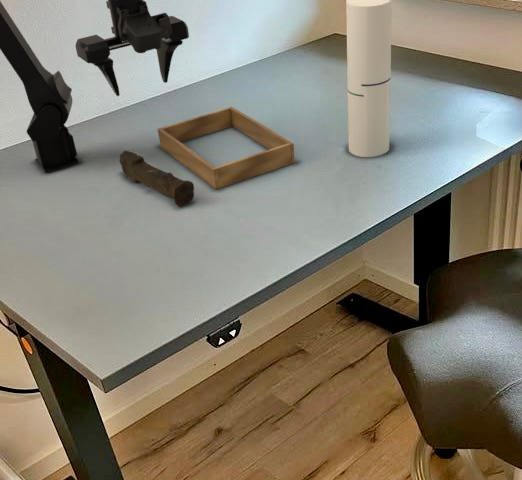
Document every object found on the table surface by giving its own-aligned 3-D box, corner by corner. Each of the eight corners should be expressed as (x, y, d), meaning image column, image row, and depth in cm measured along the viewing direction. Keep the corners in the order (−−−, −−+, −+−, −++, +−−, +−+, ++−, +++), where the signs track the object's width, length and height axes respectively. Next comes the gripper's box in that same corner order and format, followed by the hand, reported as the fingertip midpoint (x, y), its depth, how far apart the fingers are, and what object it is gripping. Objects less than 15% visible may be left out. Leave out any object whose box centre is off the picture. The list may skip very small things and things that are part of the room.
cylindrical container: (387, 157, 137) (390, 5, 122) (346, 156, 139) (343, 7, 124) (390, 140, 143) (393, -8, 127) (351, 139, 144) (348, -6, 129)
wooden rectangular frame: (215, 189, 133) (213, 169, 131) (160, 147, 149) (157, 128, 147) (295, 162, 139) (294, 143, 137) (233, 124, 155) (231, 106, 152)
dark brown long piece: (197, 201, 131) (193, 174, 128) (177, 209, 129) (173, 183, 126) (136, 168, 143) (132, 143, 140) (117, 175, 141) (112, 150, 138)
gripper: (89, 17, 122) (109, 116, 131) (197, -8, 128) (209, 87, 138) (64, 4, 129) (86, 97, 139) (167, -20, 136) (181, 71, 146)
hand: (141, 88), depth 140 cm, fingers open, 9 cm apart
